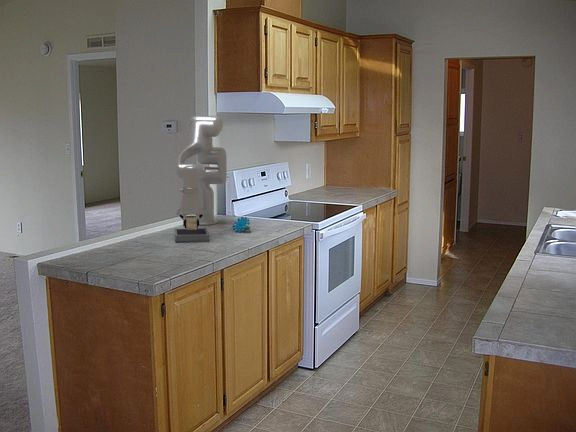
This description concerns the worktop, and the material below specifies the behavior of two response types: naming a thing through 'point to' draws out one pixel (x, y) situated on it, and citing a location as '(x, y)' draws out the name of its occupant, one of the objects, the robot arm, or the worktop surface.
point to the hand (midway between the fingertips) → (191, 227)
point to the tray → (191, 235)
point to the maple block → (191, 223)
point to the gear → (241, 225)
